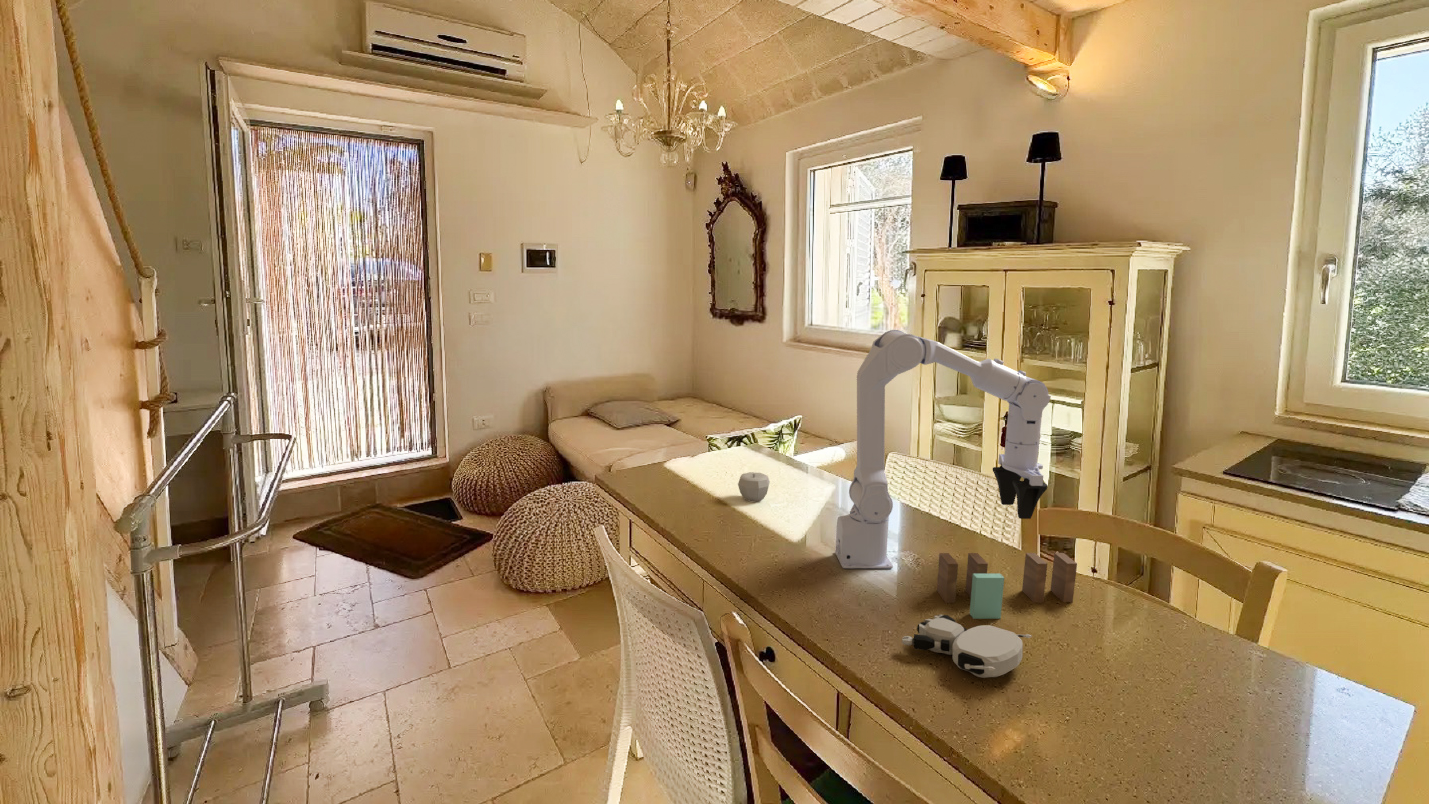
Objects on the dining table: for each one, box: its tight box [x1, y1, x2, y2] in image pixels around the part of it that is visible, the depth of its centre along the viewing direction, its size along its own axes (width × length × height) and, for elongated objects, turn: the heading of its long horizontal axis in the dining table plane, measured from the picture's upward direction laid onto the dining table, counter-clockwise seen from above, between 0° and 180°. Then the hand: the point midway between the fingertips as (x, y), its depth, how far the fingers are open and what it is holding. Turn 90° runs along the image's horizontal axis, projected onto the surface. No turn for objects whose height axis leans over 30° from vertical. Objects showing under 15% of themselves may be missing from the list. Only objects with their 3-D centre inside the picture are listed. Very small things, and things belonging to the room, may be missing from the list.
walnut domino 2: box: [964, 552, 989, 598], centre depth 119 cm, size 2×4×7 cm, turn 1°
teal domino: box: [969, 573, 1005, 620], centre depth 112 cm, size 2×4×7 cm, turn 91°
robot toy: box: [901, 614, 1033, 679], centre depth 100 cm, size 12×4×15 cm
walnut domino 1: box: [936, 552, 959, 604], centre depth 118 cm, size 2×4×7 cm, turn 1°
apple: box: [737, 471, 770, 503], centre depth 168 cm, size 8×8×7 cm
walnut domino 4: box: [1050, 552, 1078, 603], centre depth 119 cm, size 2×4×7 cm, turn 1°
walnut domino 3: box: [1021, 552, 1048, 604], centre depth 119 cm, size 2×4×7 cm, turn 1°
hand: (1015, 511), depth 132 cm, fingers open, 7 cm apart
